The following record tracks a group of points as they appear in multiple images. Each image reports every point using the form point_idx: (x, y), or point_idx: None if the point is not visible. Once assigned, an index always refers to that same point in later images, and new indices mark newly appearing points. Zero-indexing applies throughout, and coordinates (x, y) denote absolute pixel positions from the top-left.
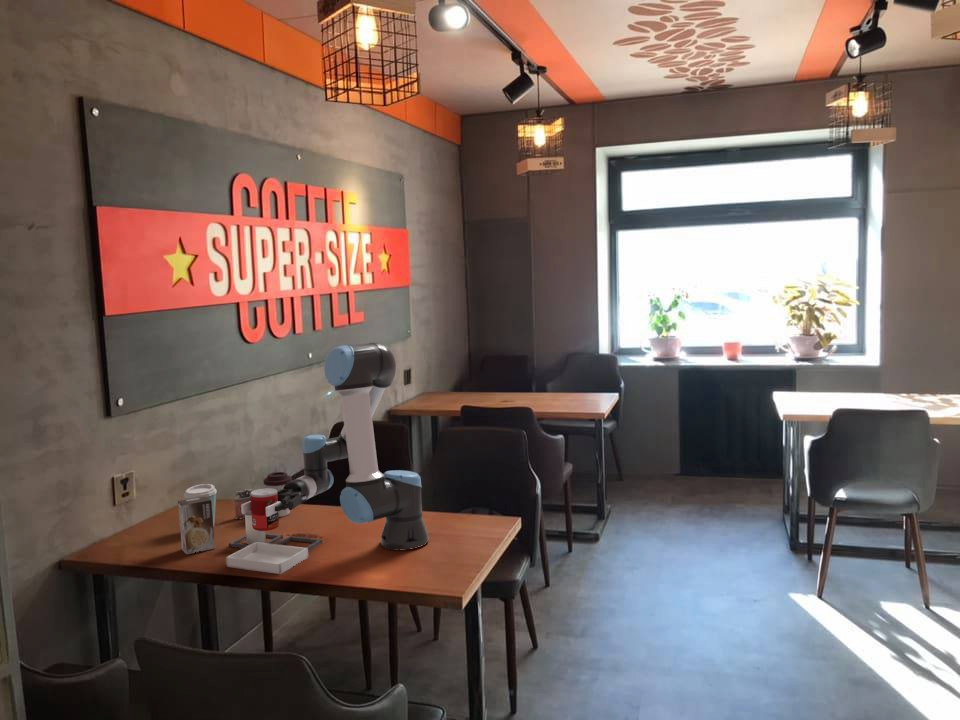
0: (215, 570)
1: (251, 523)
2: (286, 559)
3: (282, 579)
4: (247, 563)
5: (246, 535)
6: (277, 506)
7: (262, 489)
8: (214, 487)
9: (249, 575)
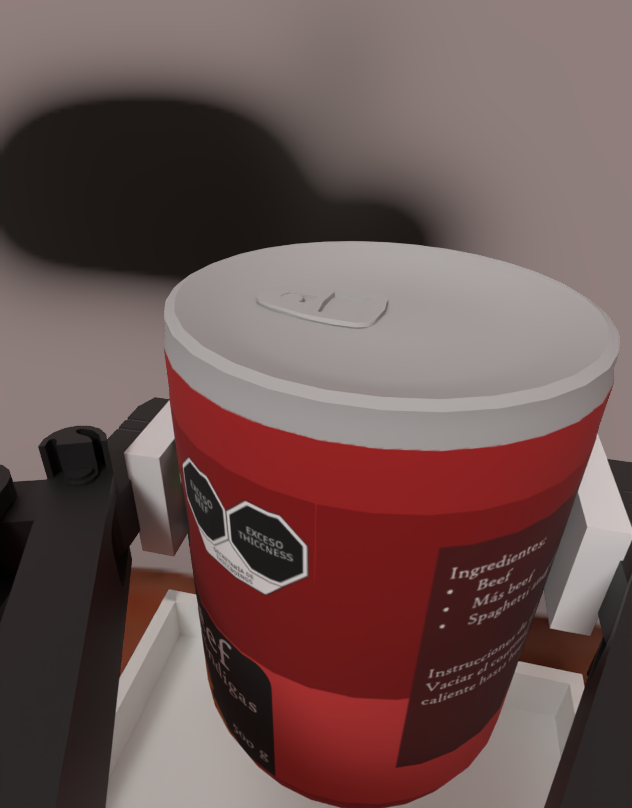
0: (582, 656)
1: None
2: (141, 661)
3: (151, 573)
4: None
5: None
6: (158, 406)
7: (522, 380)
8: None
9: None
